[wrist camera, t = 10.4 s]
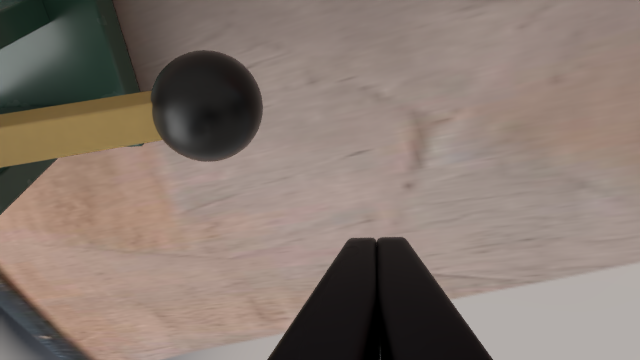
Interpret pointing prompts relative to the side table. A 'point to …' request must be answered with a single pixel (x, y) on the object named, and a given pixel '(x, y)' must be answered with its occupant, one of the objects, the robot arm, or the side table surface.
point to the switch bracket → (57, 66)
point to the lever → (147, 116)
